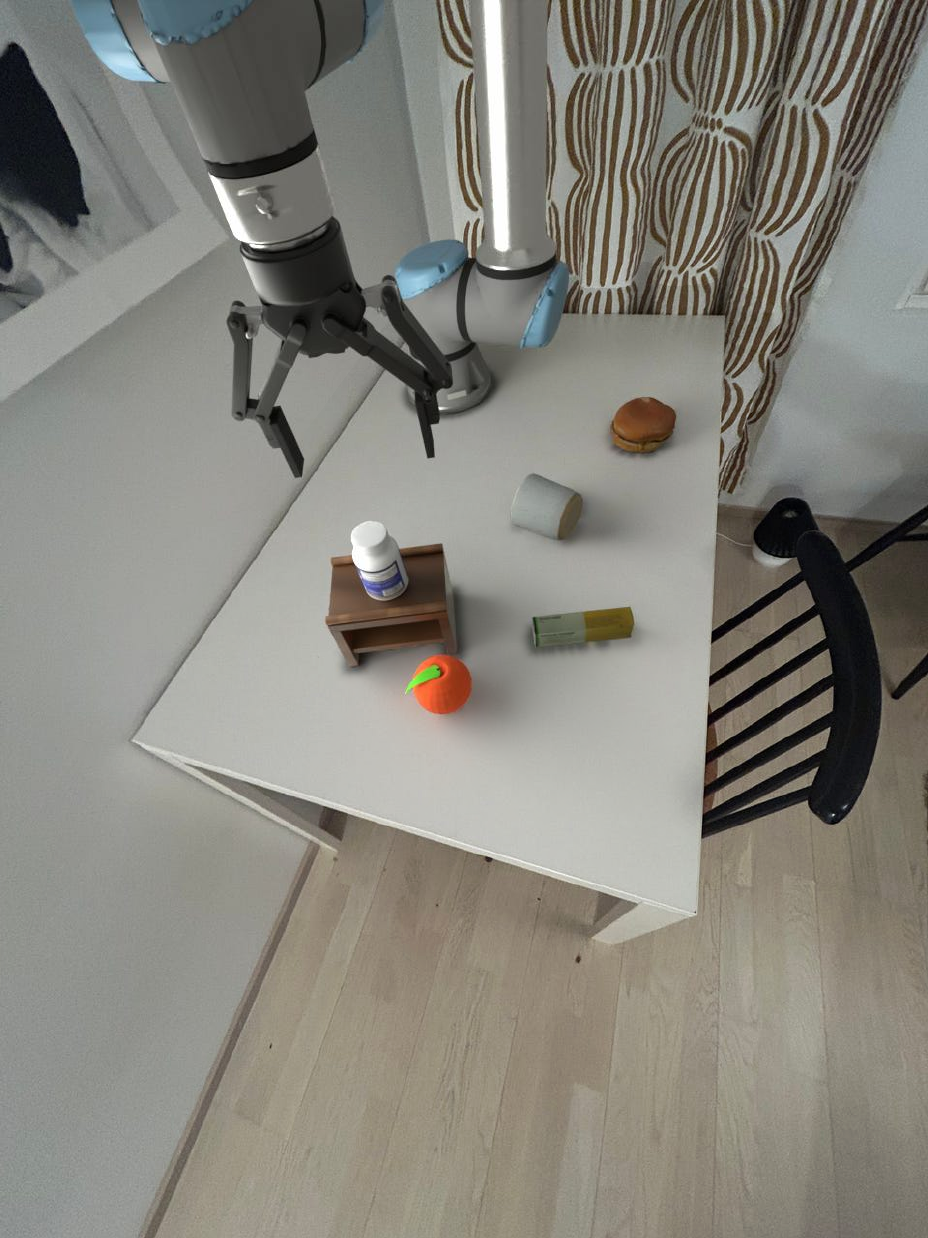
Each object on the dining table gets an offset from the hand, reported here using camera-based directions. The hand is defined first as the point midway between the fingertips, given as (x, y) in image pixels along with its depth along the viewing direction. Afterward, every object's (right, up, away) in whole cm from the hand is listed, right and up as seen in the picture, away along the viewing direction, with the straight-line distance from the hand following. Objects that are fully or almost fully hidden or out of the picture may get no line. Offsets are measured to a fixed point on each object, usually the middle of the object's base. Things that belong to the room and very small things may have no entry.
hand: (364, 459), depth 59 cm
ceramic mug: (+23, -2, +26) cm, 35 cm away
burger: (+38, +13, +34) cm, 53 cm away
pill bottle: (+1, -12, +11) cm, 16 cm away
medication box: (+25, -19, +14) cm, 34 cm away
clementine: (+7, -26, +11) cm, 30 cm away
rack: (+2, -17, +18) cm, 25 cm away
